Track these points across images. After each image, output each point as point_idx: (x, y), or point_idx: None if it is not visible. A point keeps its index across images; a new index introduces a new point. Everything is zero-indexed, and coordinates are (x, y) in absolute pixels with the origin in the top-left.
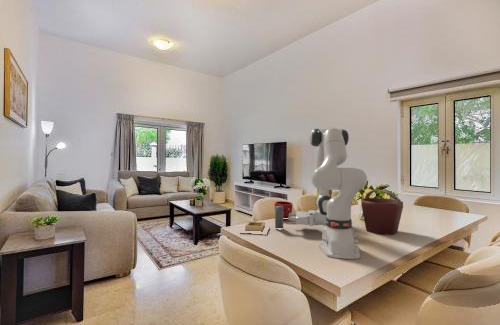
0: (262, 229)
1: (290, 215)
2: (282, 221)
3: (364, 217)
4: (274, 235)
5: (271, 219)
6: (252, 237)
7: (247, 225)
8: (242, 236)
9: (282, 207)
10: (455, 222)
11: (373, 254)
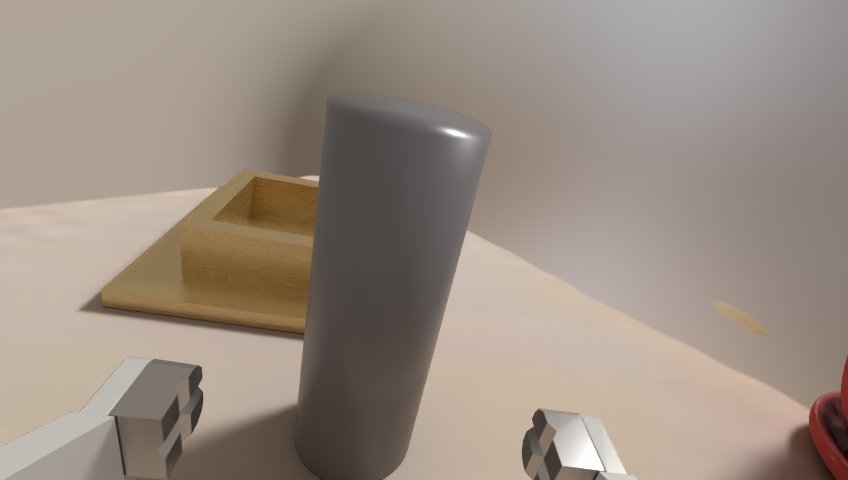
0: (181, 250)
1: (539, 465)
2: (325, 375)
3: None
4: (48, 365)
5: (746, 380)
6: (80, 230)
7: (250, 175)
8: (141, 199)
9: (359, 126)
10: None
11: None
